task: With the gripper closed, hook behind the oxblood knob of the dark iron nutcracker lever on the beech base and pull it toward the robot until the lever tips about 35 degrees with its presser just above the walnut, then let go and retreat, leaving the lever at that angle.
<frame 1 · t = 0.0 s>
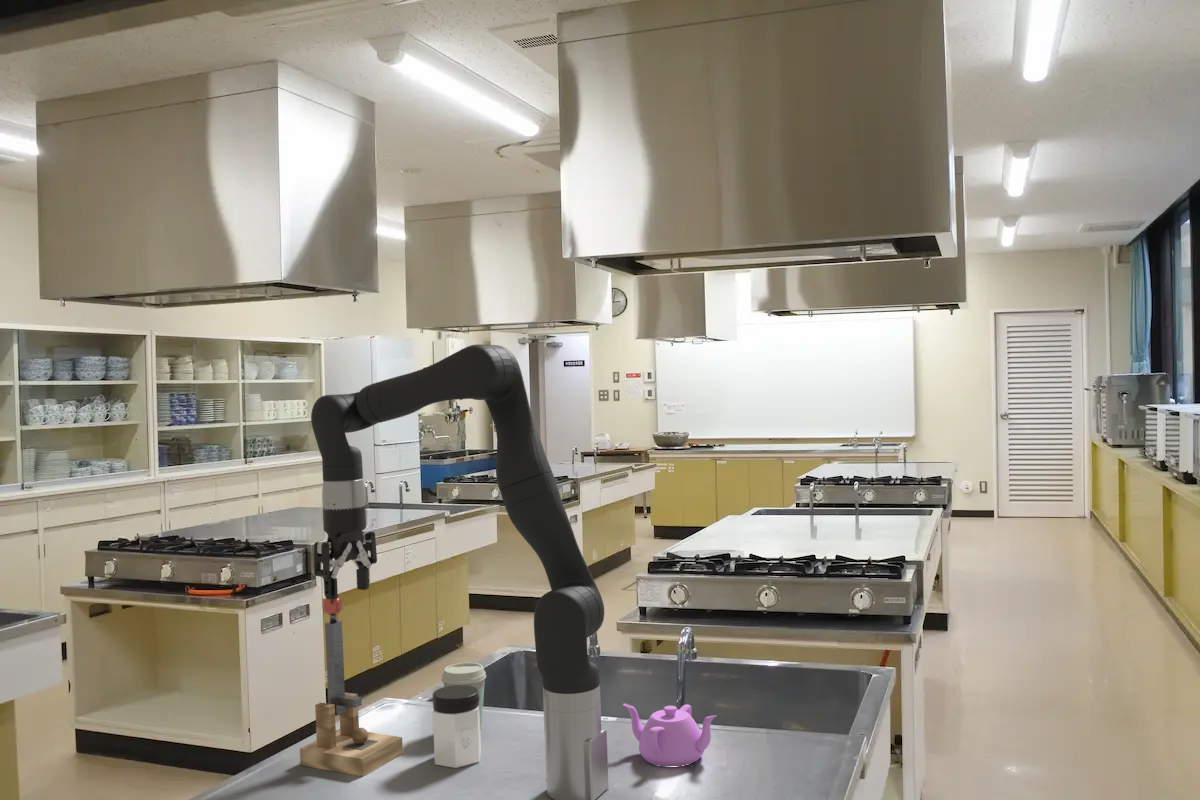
hand: (347, 594, 178), 29 cm above the countertop, fingers open, 8 cm apart
jar: (458, 760, 174), on the countertop
cracker base: (352, 759, 176), on the countertop
teapot: (670, 758, 172), on the countertop
coffee cup: (466, 730, 189), on the countertop
lever: (341, 655, 176), point 19 cm above the countertop, hinge at 0.0°
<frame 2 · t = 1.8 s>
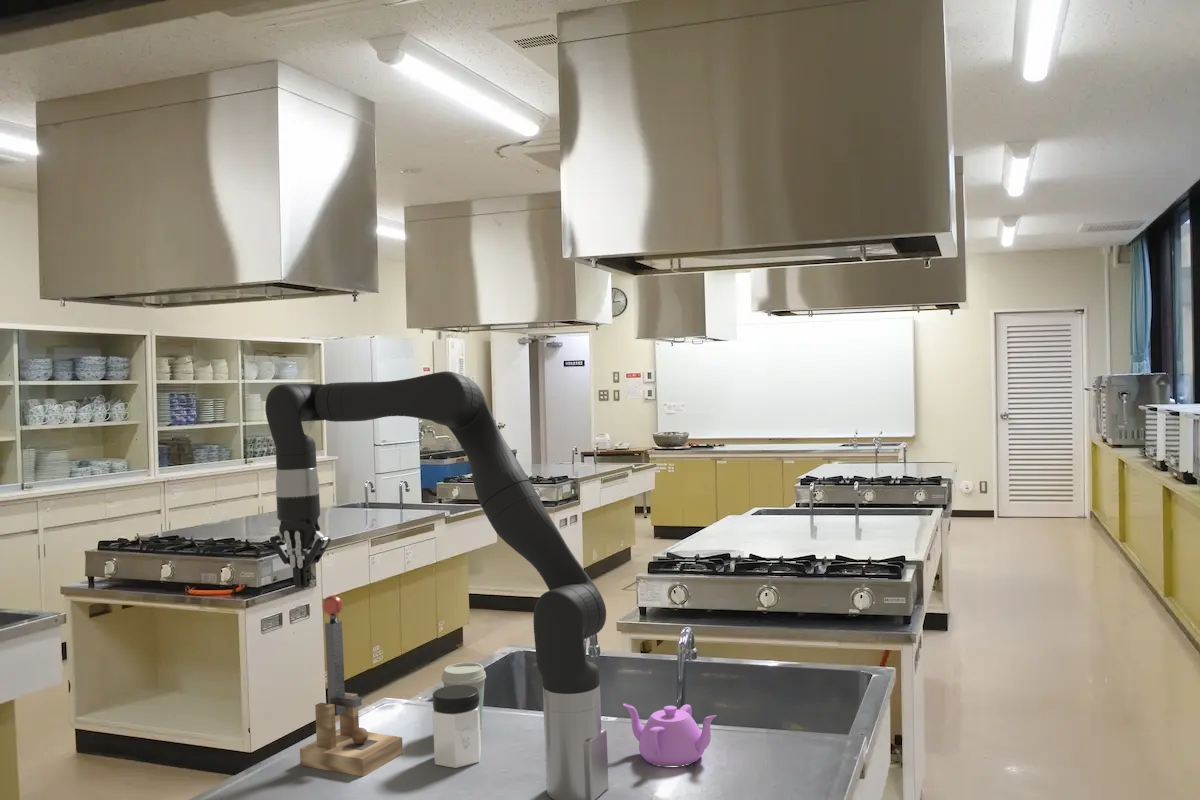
hand: (302, 587, 180), 30 cm above the countertop, fingers closed
nothing on the countertop moved.
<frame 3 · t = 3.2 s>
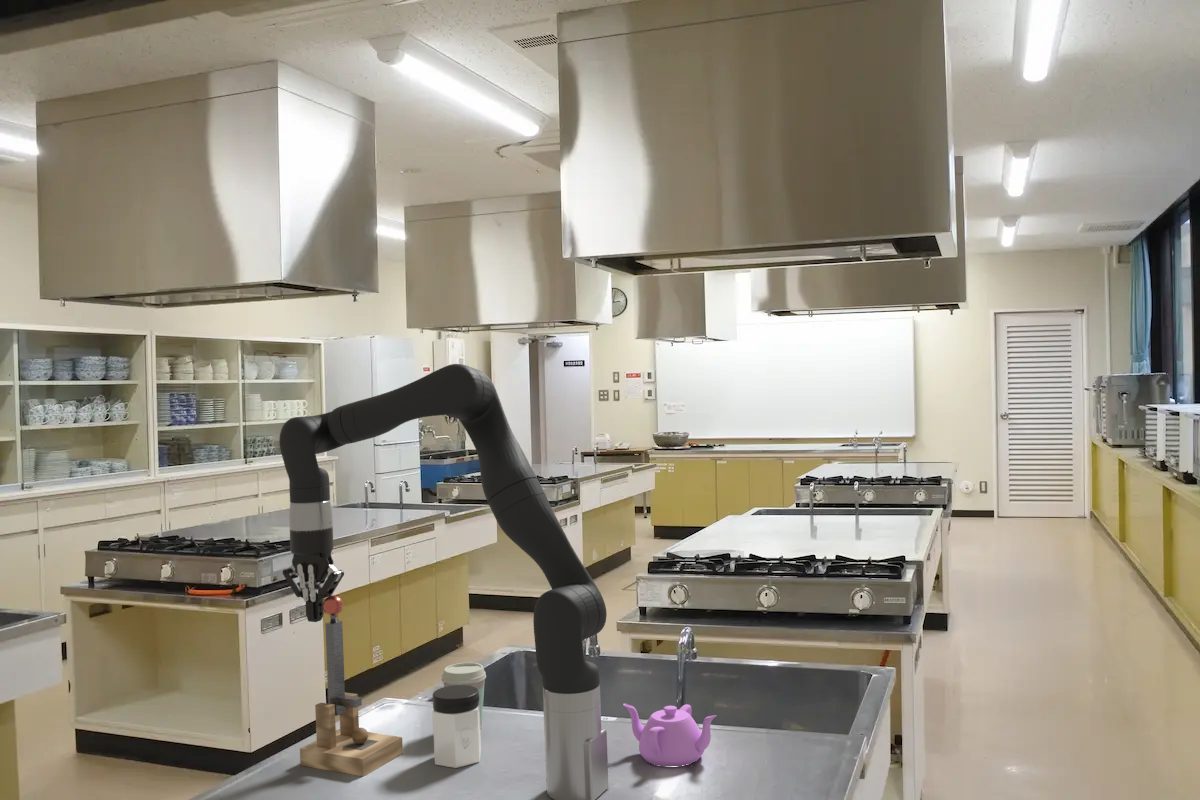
hand: (314, 620, 179), 24 cm above the countertop, fingers closed
lever: (342, 655, 176), point 19 cm above the countertop, hinge at 0.3°, touching gripper
everything else where it was.
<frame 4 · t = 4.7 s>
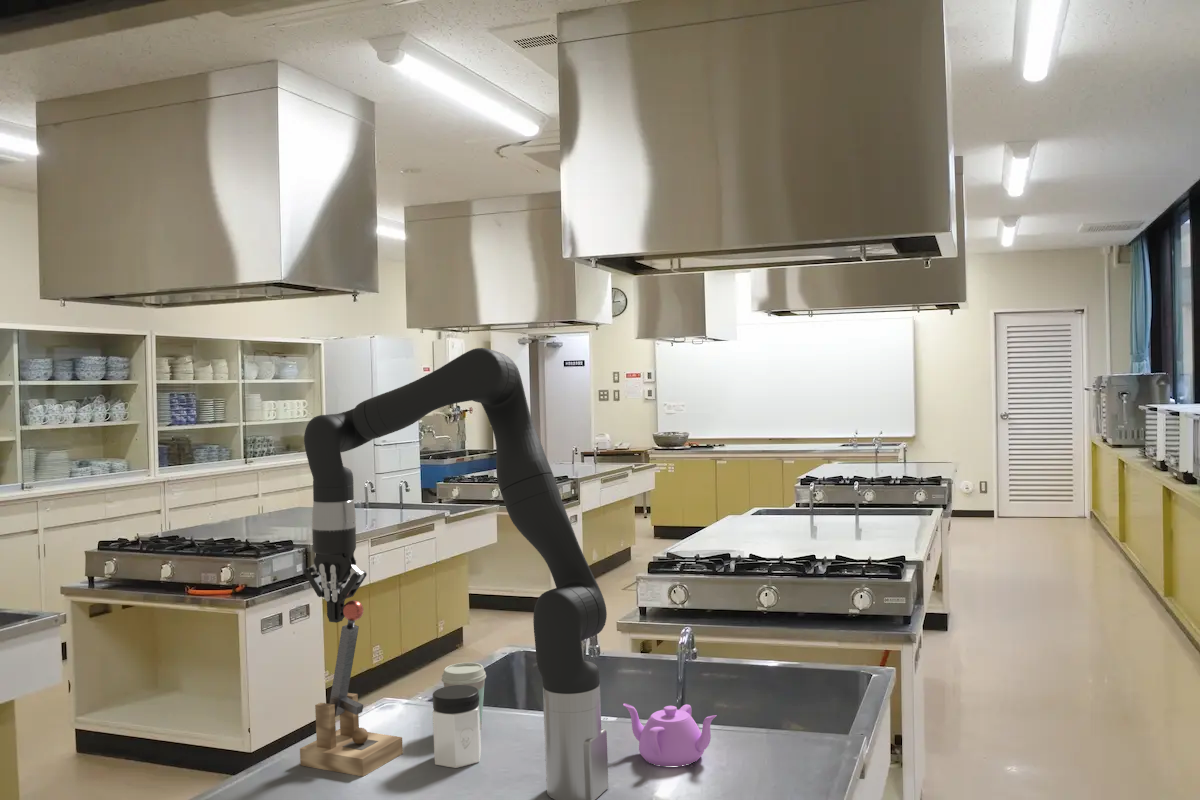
hand: (335, 621, 177), 25 cm above the countertop, fingers closed
lever: (352, 660, 175), point 18 cm above the countertop, hinge at 14.5°, touching gripper
everything else where it was.
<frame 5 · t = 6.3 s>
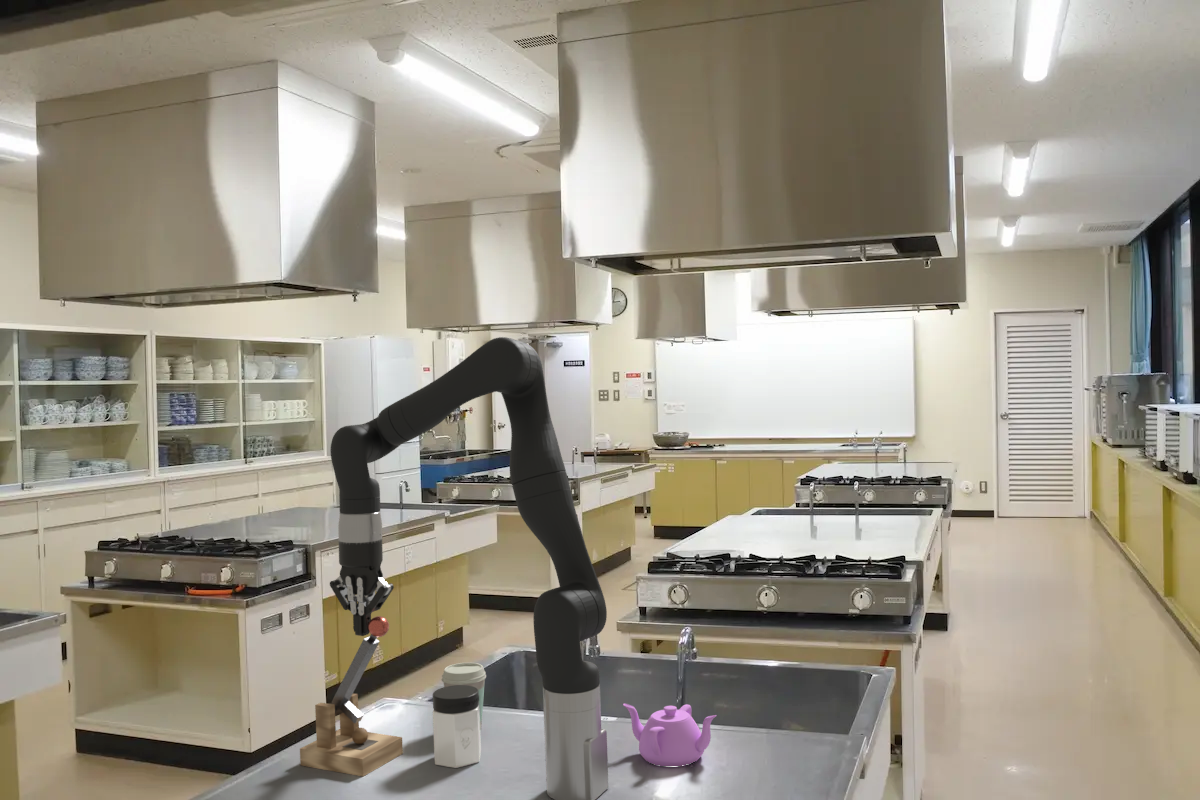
hand: (362, 634, 174), 23 cm above the countertop, fingers closed
lever: (364, 671, 174), point 16 cm above the countertop, hinge at 33.4°, touching gripper
everything else where it was.
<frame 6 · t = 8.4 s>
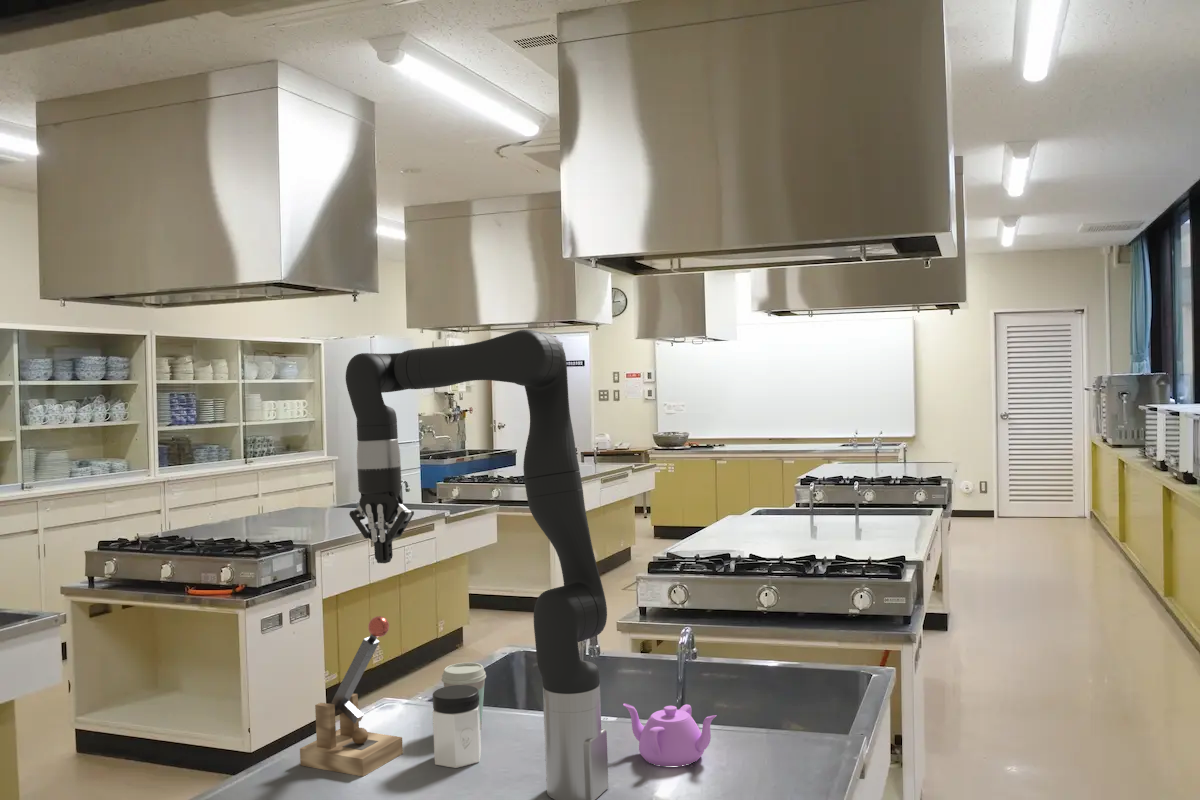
hand: (383, 562, 175), 35 cm above the countertop, fingers closed
lever: (364, 671, 174), point 16 cm above the countertop, hinge at 33.4°
everything else where it was.
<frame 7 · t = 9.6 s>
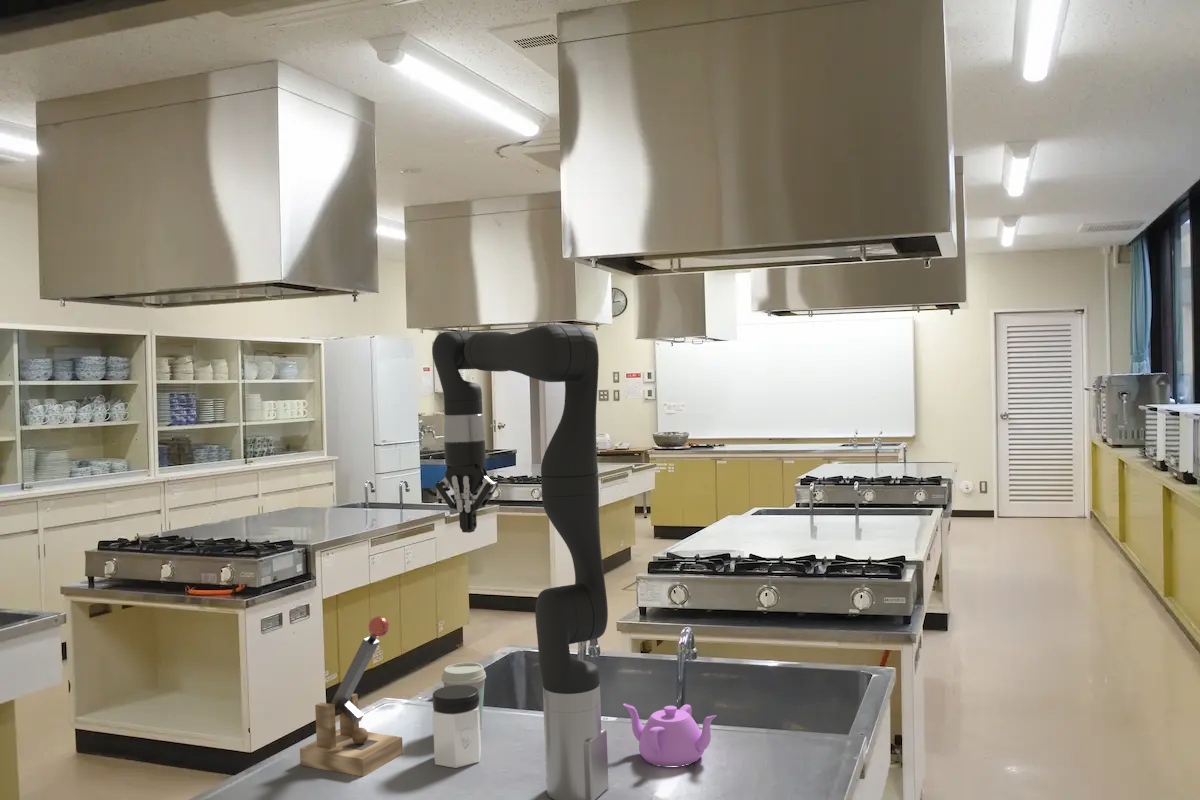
hand: (468, 531, 183), 39 cm above the countertop, fingers closed
nothing on the countertop moved.
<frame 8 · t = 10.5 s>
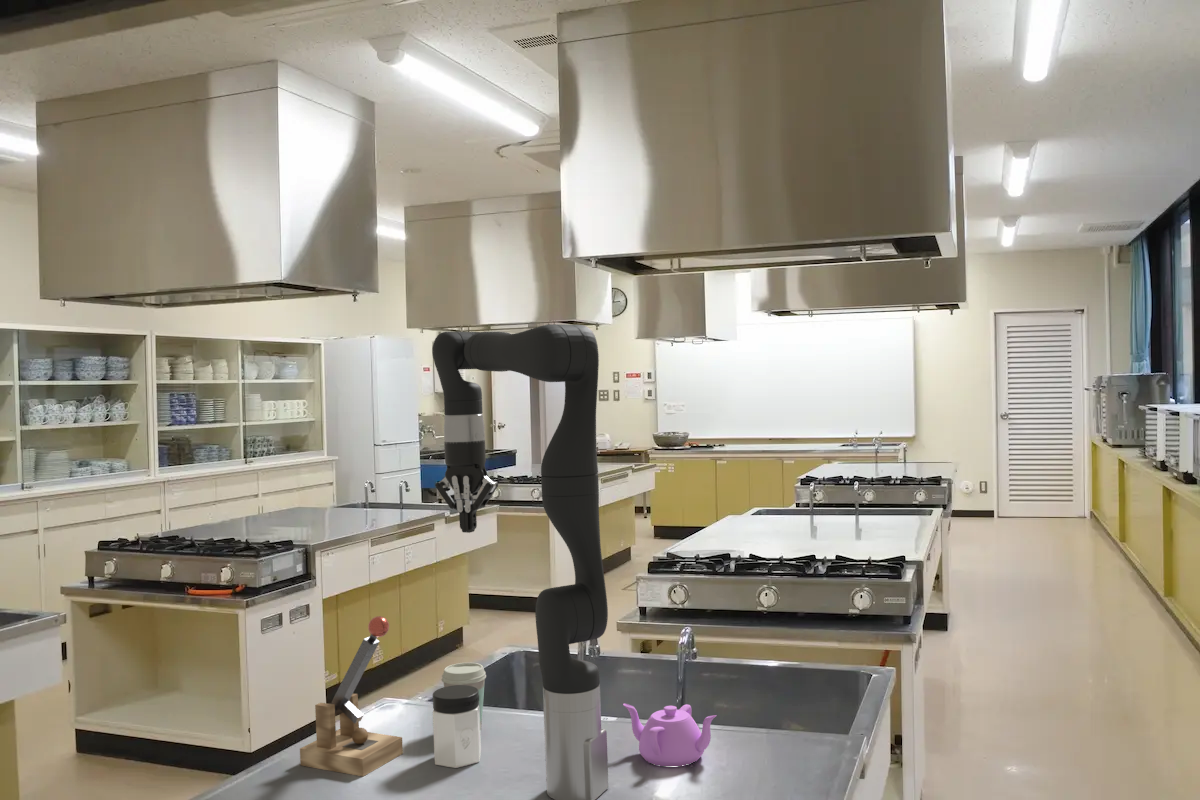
hand: (468, 531, 183), 39 cm above the countertop, fingers closed
nothing on the countertop moved.
at the end: lever at +33° (first picture: +0°) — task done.
